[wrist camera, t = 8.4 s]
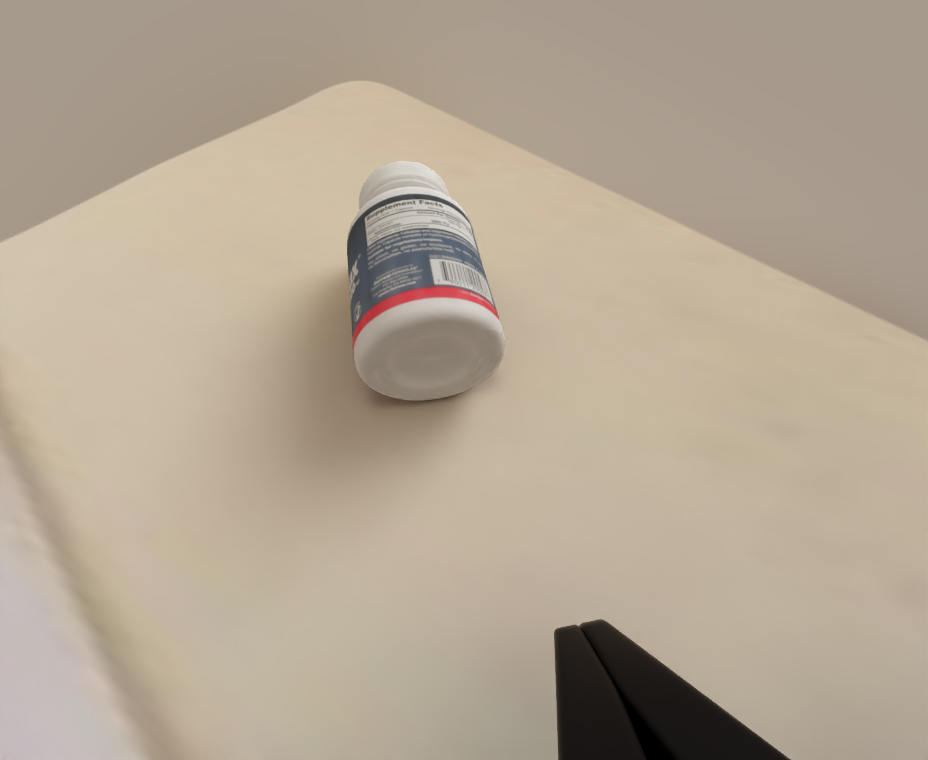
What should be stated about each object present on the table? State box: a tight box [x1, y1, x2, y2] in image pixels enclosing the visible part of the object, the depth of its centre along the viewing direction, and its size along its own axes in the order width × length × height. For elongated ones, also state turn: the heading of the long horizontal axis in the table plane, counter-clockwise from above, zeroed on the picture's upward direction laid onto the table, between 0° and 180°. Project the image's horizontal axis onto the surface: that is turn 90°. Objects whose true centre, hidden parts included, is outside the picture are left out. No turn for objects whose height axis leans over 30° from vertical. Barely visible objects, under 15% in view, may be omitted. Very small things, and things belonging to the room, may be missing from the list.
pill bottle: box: [347, 161, 505, 400], centre depth 17 cm, size 5×5×9 cm
